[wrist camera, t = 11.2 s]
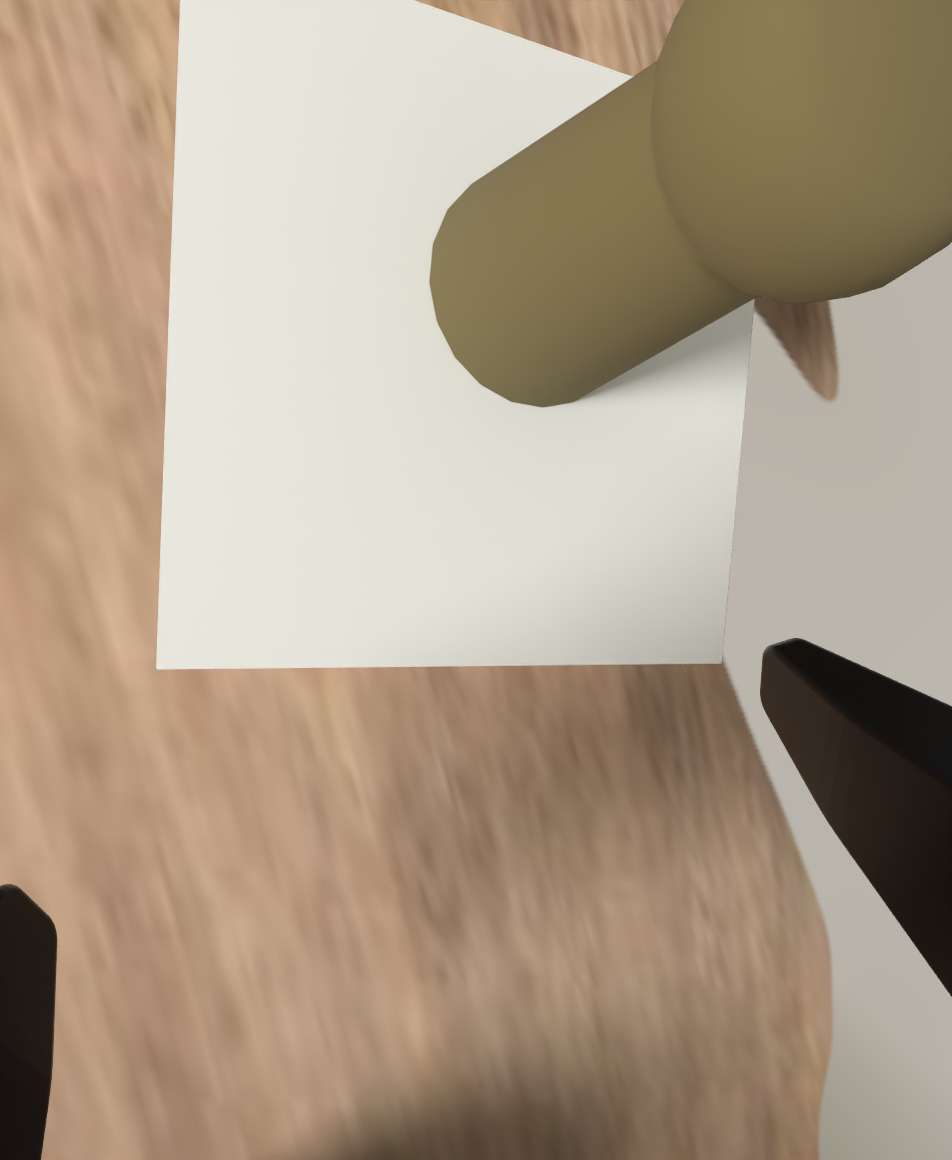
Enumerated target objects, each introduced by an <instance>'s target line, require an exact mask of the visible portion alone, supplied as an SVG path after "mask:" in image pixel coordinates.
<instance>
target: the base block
mask: <svg viewBox="0 0 952 1160" xmlns="http://www.w3.org/2000/svg"><path fill="white" fill-rule="evenodd" d="M631 78H632V76H629V75H626V74H623V73H620V72H617V71H615V70H612V69H609V68H606V67H603V66H600V65H597V64H595V63H592V62H589V61H586V60H583V59H580V58H577V57H575V56H572V55H569V54H566V53H563V52H560V51H557V50H555V49H552V48H549V47H546V46H543V45H540V44H537V43H535V42H532V41H529V40H526V39H523V38H520V37H517V36H515V35H512V34H509V33H506V32H503V31H500V30H497V29H495V28H492V27H489V26H486V25H483V24H480V23H477V22H475V21H472V20H469V19H466V18H463V17H460V16H457V15H455V14H452V13H449V12H446V11H443V10H440V9H437V8H435V7H432V6H429V5H426V4H423V3H420V2H417V1H415V0H180V24H179V52H178V80H177V108H176V135H175V163H174V191H173V219H172V246H171V274H170V302H169V330H168V358H167V385H166V413H165V441H164V469H163V496H162V524H161V552H160V580H159V608H158V635H157V663H156V669H237V668H334V667H430V666H527V665H624V664H720V663H722V655H723V644H724V633H725V621H726V611H727V600H728V588H729V577H730V566H731V556H732V544H733V533H734V522H735V511H736V500H737V489H738V478H739V467H740V456H741V444H742V434H743V423H744V411H745V401H746V390H747V377H748V368H749V356H750V345H751V334H752V323H753V312H754V301H755V299H753V300H751V301H749V302H748V303H746V304H744V305H742V306H741V307H739V308H737V309H735V310H734V311H732V312H730V313H728V314H727V315H725V316H723V317H721V318H720V319H718V320H716V321H714V322H713V323H711V324H709V325H707V326H706V327H704V328H702V329H700V330H699V331H697V332H695V333H693V334H692V335H690V336H688V337H686V338H685V339H683V340H681V341H679V342H678V343H676V344H674V345H672V346H671V347H669V348H667V349H665V350H664V351H662V352H660V353H658V354H657V355H655V356H653V357H651V358H650V359H648V360H646V361H644V362H643V363H641V364H639V365H637V366H636V367H634V368H632V369H630V370H629V371H627V372H625V373H623V374H622V375H620V376H618V377H616V378H615V379H613V380H611V381H609V382H608V383H606V384H604V385H602V386H601V387H599V388H597V389H595V390H594V391H592V392H590V393H588V394H587V395H585V396H583V397H581V398H580V399H578V400H576V401H574V402H571V403H566V404H560V405H555V406H549V407H544V408H542V407H537V406H531V405H526V404H520V403H515V402H510V401H509V400H507V399H505V398H503V397H501V396H500V395H498V394H496V393H494V392H493V391H491V390H489V389H487V388H486V387H484V386H482V385H480V384H479V383H478V381H477V380H476V379H475V378H474V377H473V376H472V375H471V374H470V373H469V372H468V371H467V370H466V369H465V368H464V367H463V365H462V364H461V363H460V362H459V361H458V360H457V359H456V358H455V357H454V355H453V353H452V351H451V349H450V347H449V345H448V343H447V341H446V339H445V337H444V335H443V333H442V331H441V329H440V327H439V325H438V323H437V320H436V315H435V310H434V305H433V300H432V294H431V289H430V284H429V279H430V269H431V258H432V247H433V242H434V240H435V237H436V235H437V233H438V230H439V228H440V226H441V223H442V221H443V219H444V216H445V214H446V212H447V209H448V208H449V207H450V206H451V205H452V204H453V203H454V202H455V201H456V200H457V199H458V198H459V197H460V195H461V194H462V193H463V192H464V191H465V190H466V189H467V188H468V187H469V186H470V185H471V184H472V183H474V182H475V181H477V180H478V179H480V178H481V177H483V176H484V175H486V174H487V173H489V172H490V171H492V170H493V169H495V168H496V167H498V166H499V165H501V164H502V163H504V162H505V161H507V160H508V159H510V158H511V157H513V156H514V155H516V154H517V153H519V152H520V151H522V150H523V149H525V148H526V147H528V146H529V145H531V144H532V143H534V142H535V141H537V140H538V139H540V138H541V137H543V136H544V135H546V134H548V133H549V132H551V131H552V130H554V129H555V128H557V127H558V126H560V125H561V124H563V123H564V122H566V121H567V120H569V119H570V118H572V117H573V116H575V115H576V114H578V113H579V112H581V111H582V110H584V109H585V108H587V107H588V106H590V105H591V104H593V103H594V102H596V101H597V100H599V99H600V98H602V97H603V96H605V95H606V94H608V93H609V92H611V91H612V90H614V89H615V88H617V87H618V86H620V85H621V84H623V83H625V82H626V81H628V80H629V79H631Z"/></svg>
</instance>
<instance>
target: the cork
mask: <svg viewBox="0 0 952 1160" xmlns="http://www.w3.org/2000/svg"><path fill="white" fill-rule="evenodd" d="M951 242H952V0H685V1H684V3H683V5H682V6H681V8H680V10H679V12H678V13H677V15H676V17H675V19H674V22H673V24H672V27H671V29H670V31H669V34H668V36H667V39H666V41H665V44H664V46H663V48H662V51H661V53H660V56H659V58H658V61H656V62H655V63H653V64H652V65H650V66H649V67H647V68H646V69H644V70H643V71H641V72H640V73H638V74H637V75H635V76H634V77H632V78H631V79H629V80H628V81H626V82H625V83H623V84H621V85H620V86H618V87H617V88H615V89H614V90H612V91H611V92H609V93H608V94H606V95H605V96H603V97H602V98H600V99H599V100H597V101H596V102H594V103H593V104H591V105H590V106H588V107H587V108H585V109H584V110H582V111H581V112H579V113H578V114H576V115H575V116H573V117H572V118H570V119H569V120H567V121H566V122H564V123H563V124H561V125H560V126H558V127H557V128H555V129H554V130H552V131H551V132H549V133H548V134H546V135H544V136H543V137H541V138H540V139H538V140H537V141H535V142H534V143H532V144H531V145H529V146H528V147H526V148H525V149H523V150H522V151H520V152H519V153H517V154H516V155H514V156H513V157H511V158H510V159H508V160H507V161H505V162H504V163H502V164H501V165H499V166H498V167H496V168H495V169H493V170H492V171H490V172H489V173H487V174H486V175H484V176H483V177H481V178H480V179H478V180H477V181H475V182H474V183H472V184H471V185H470V186H469V187H468V188H467V189H466V190H465V191H464V192H463V193H462V194H461V195H460V197H459V198H458V199H457V200H456V201H455V202H454V203H453V204H452V205H451V206H450V207H449V208H448V209H447V212H446V214H445V216H444V219H443V221H442V223H441V226H440V228H439V230H438V233H437V235H436V237H435V240H434V242H433V247H432V258H431V269H430V279H429V284H430V289H431V294H432V300H433V305H434V310H435V315H436V320H437V323H438V325H439V327H440V329H441V331H442V333H443V335H444V337H445V339H446V341H447V343H448V345H449V347H450V349H451V351H452V353H453V355H454V357H455V358H456V359H457V360H458V361H459V362H460V363H461V364H462V365H463V367H464V368H465V369H466V370H467V371H468V372H469V373H470V374H471V375H472V376H473V377H474V378H475V379H476V380H477V381H478V383H479V384H480V385H482V386H484V387H486V388H487V389H489V390H491V391H493V392H494V393H496V394H498V395H500V396H501V397H503V398H505V399H507V400H509V401H510V402H515V403H520V404H526V405H531V406H537V407H542V408H544V407H549V406H555V405H560V404H566V403H571V402H574V401H576V400H578V399H580V398H581V397H583V396H585V395H587V394H588V393H590V392H592V391H594V390H595V389H597V388H599V387H601V386H602V385H604V384H606V383H608V382H609V381H611V380H613V379H615V378H616V377H618V376H620V375H622V374H623V373H625V372H627V371H629V370H630V369H632V368H634V367H636V366H637V365H639V364H641V363H643V362H644V361H646V360H648V359H650V358H651V357H653V356H655V355H657V354H658V353H660V352H662V351H664V350H665V349H667V348H669V347H671V346H672V345H674V344H676V343H678V342H679V341H681V340H683V339H685V338H686V337H688V336H690V335H692V334H693V333H695V332H697V331H699V330H700V329H702V328H704V327H706V326H707V325H709V324H711V323H713V322H714V321H716V320H718V319H720V318H721V317H723V316H725V315H727V314H728V313H730V312H732V311H734V310H735V309H737V308H739V307H741V306H742V305H744V304H746V303H748V302H749V301H751V300H753V299H755V298H756V297H762V298H766V299H769V300H773V301H776V302H780V303H811V302H818V301H825V300H832V299H838V298H845V297H850V296H854V295H857V294H861V293H864V292H867V291H870V290H874V289H877V288H881V287H883V286H885V285H886V284H888V283H890V282H891V281H893V280H895V279H896V278H898V277H899V276H901V275H903V274H904V273H906V272H907V271H909V270H910V269H912V268H914V267H915V266H917V265H918V264H920V263H922V262H923V261H925V260H926V259H928V258H929V257H931V256H932V255H934V254H935V253H937V252H939V251H940V250H942V249H943V248H945V247H946V246H948V245H949V244H950V243H951Z"/></svg>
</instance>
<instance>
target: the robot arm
mask: <svg viewBox="0 0 952 1160" xmlns="http://www.w3.org/2000/svg"><path fill="white" fill-rule="evenodd" d="M760 696H761V702H762V705H763V708H764V710H765V712H766V714H767V716H768V717H769V719H770V721H771V723H772V725H773V727H774V728H775V730H776V732H777V734H778V735H779V737H780V739H781V741H782V743H783V744H784V746H785V748H786V750H787V751H788V753H789V755H790V757H791V759H792V760H793V762H794V764H795V766H796V768H797V769H798V771H799V773H800V775H801V776H802V778H803V780H804V782H805V784H806V785H807V787H808V789H809V791H810V793H811V794H812V796H813V798H814V800H815V801H816V803H817V805H818V807H819V808H820V810H821V811H822V813H823V815H824V816H825V818H826V820H827V821H828V823H829V824H830V826H831V827H832V829H833V830H834V832H835V833H836V835H837V836H838V838H839V839H840V840H841V842H842V843H843V845H844V846H845V848H846V849H847V850H848V852H849V853H850V855H851V856H852V857H853V859H854V860H855V861H856V863H857V864H858V866H859V867H860V869H861V870H862V871H863V873H864V874H865V876H866V877H867V878H868V880H869V881H870V883H871V884H872V885H873V887H874V888H875V890H876V891H877V892H878V894H879V895H880V896H881V898H882V900H883V901H884V902H885V904H886V905H887V906H888V908H889V909H890V911H891V912H892V914H893V915H894V916H895V918H896V919H897V921H898V922H899V923H900V925H901V926H902V928H903V929H904V930H905V932H906V933H907V935H908V936H909V937H910V939H911V940H912V942H913V943H914V945H915V946H916V947H917V949H918V950H919V951H920V953H921V954H922V956H923V957H924V958H925V960H926V961H927V963H928V964H929V966H930V967H931V968H932V970H933V971H934V973H935V974H936V975H937V977H938V978H939V979H940V981H941V982H942V984H943V985H944V987H945V988H946V990H947V991H948V992H949V993H950V995H951V996H952V706H950V705H948V704H945V703H943V702H941V701H939V700H937V699H934V698H932V697H930V696H928V695H926V694H923V693H921V692H919V691H917V690H915V689H912V688H910V687H908V686H906V685H903V684H901V683H899V682H897V681H895V680H892V679H890V678H888V677H885V676H883V675H881V674H879V673H877V672H875V671H872V670H870V669H868V668H866V667H863V666H861V665H859V664H857V663H855V662H852V661H850V660H848V659H846V658H844V657H841V656H839V655H837V654H835V653H833V652H830V651H828V650H826V649H824V648H821V647H819V646H817V645H815V644H812V643H810V642H808V641H806V640H803V639H799V638H793V639H789V640H786V641H782V642H779V643H776V644H773V645H770V646H768V647H767V648H766V649H765V651H764V653H763V659H762V672H761V686H760ZM56 961H57V933H56V929H55V925H54V923H53V921H52V920H51V918H50V917H49V916H48V915H47V914H46V913H45V912H44V911H43V910H42V909H41V908H40V907H39V906H38V905H37V904H36V903H35V902H34V901H33V900H32V899H31V898H30V897H29V896H28V895H27V894H25V893H24V892H23V891H22V890H21V889H20V888H19V887H18V886H15V885H12V884H5V885H2V886H0V1160H41V1154H42V1147H43V1140H44V1133H45V1126H46V1119H47V1112H48V1105H49V1096H50V1088H51V1079H52V1065H53V1045H54V1017H55V989H56Z"/></svg>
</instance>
